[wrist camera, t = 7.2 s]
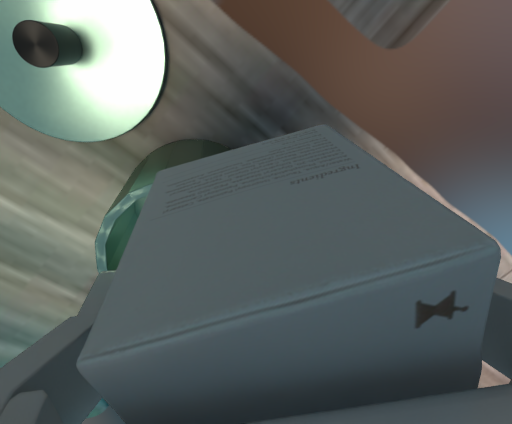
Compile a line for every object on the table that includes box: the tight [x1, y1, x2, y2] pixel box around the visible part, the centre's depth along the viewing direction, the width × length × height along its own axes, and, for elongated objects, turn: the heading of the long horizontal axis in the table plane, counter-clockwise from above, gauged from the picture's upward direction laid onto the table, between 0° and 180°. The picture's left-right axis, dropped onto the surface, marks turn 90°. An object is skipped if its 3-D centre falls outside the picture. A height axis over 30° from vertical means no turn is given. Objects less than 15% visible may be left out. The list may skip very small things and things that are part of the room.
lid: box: [0, 0, 166, 142], centre depth 21 cm, size 14×14×5 cm
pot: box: [95, 139, 232, 273], centre depth 27 cm, size 13×14×10 cm
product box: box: [76, 124, 501, 424], centre depth 8 cm, size 6×6×7 cm
